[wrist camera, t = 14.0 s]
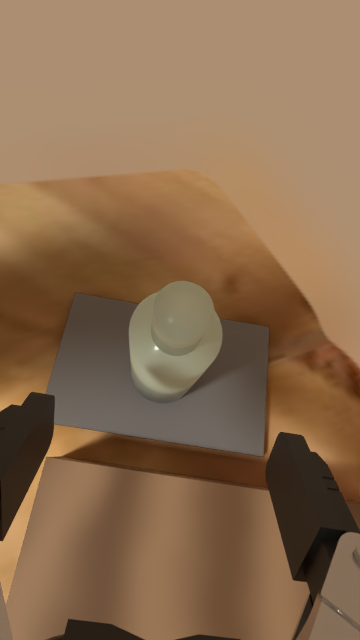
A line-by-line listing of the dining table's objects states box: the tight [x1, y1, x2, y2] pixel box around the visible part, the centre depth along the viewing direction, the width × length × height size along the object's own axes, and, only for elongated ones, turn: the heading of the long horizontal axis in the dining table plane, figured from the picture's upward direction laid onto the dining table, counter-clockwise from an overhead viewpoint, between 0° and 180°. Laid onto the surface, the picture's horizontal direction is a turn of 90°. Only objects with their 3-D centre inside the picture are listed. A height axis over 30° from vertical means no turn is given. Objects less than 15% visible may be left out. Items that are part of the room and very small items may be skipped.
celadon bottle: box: [129, 281, 223, 403], centre depth 20 cm, size 5×5×12 cm
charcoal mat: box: [46, 292, 269, 457], centre depth 26 cm, size 16×10×1 cm, turn 82°
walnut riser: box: [6, 457, 360, 640], centre depth 20 cm, size 22×10×4 cm, turn 82°
